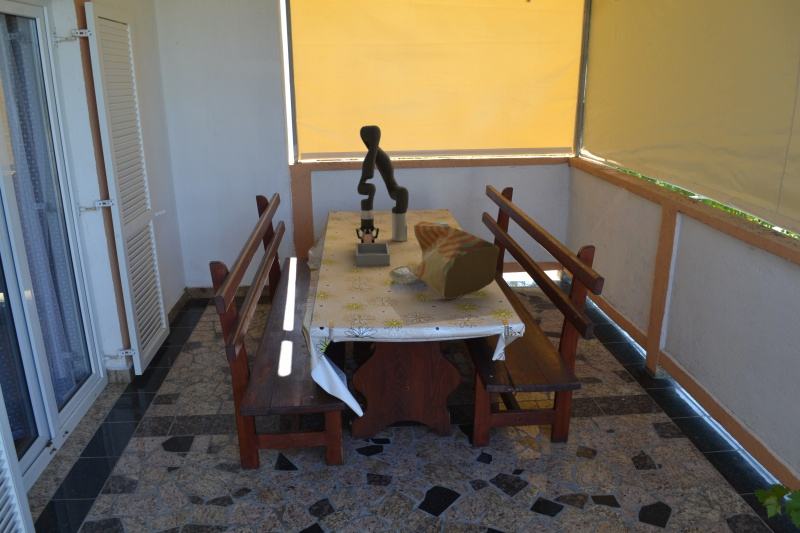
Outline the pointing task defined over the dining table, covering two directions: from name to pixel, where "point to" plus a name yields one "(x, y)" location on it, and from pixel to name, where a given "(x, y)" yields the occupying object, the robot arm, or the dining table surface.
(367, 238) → the jar
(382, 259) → the tote
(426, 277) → the shopping bag
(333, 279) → the dining table surface
